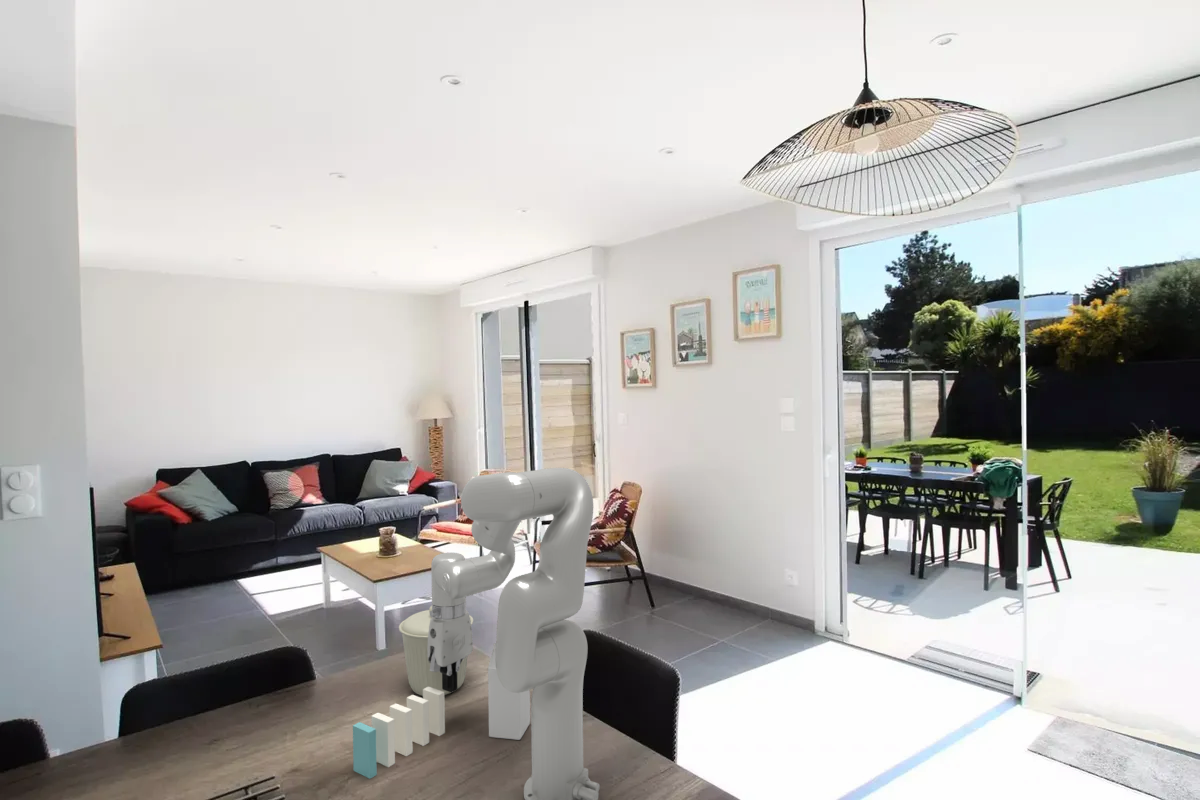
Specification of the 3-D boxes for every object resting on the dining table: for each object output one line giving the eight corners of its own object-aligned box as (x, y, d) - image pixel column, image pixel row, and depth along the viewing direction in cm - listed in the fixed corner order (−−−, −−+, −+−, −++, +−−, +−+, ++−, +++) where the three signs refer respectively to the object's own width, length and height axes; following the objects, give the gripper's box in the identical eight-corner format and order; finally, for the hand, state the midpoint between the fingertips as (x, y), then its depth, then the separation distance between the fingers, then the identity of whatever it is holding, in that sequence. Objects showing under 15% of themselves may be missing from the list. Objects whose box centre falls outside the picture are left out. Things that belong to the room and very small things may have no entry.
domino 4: (429, 742, 138) (428, 700, 137) (423, 746, 136) (422, 703, 136) (413, 735, 140) (412, 694, 140) (407, 739, 139) (406, 697, 139)
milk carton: (520, 740, 138) (519, 652, 137) (488, 737, 139) (487, 649, 139) (530, 723, 145) (529, 639, 144) (500, 720, 146) (499, 637, 146)
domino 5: (445, 732, 141) (444, 692, 141) (439, 736, 140) (438, 695, 140) (429, 726, 144) (428, 686, 144) (423, 729, 143) (422, 689, 142)
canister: (489, 681, 166) (487, 600, 165) (436, 712, 150) (434, 622, 150) (438, 666, 175) (437, 588, 175) (384, 693, 160) (382, 608, 159)
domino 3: (412, 752, 134) (411, 709, 134) (406, 756, 132) (405, 712, 132) (396, 745, 136) (395, 703, 136) (390, 749, 135) (389, 706, 135)
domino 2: (395, 763, 130) (394, 719, 130) (388, 767, 129) (387, 722, 128) (378, 755, 133) (378, 712, 133) (372, 759, 131) (371, 715, 131)
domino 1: (376, 774, 126) (375, 729, 126) (369, 778, 125) (368, 732, 125) (360, 766, 129) (359, 722, 129) (353, 770, 128) (352, 725, 127)
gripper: (435, 623, 137) (436, 708, 138) (484, 602, 150) (485, 681, 150) (411, 616, 141) (412, 699, 142) (461, 597, 154) (461, 673, 155)
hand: (449, 689), depth 146 cm, fingers closed
